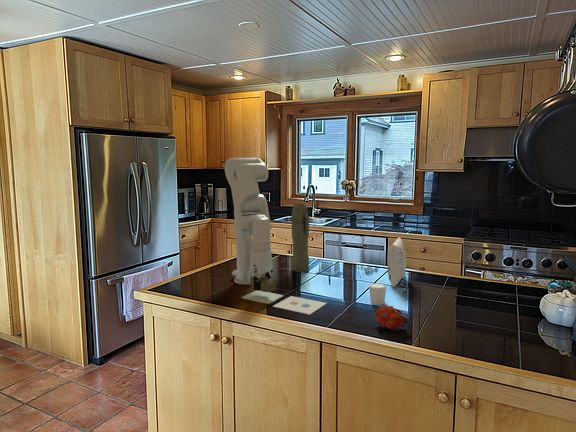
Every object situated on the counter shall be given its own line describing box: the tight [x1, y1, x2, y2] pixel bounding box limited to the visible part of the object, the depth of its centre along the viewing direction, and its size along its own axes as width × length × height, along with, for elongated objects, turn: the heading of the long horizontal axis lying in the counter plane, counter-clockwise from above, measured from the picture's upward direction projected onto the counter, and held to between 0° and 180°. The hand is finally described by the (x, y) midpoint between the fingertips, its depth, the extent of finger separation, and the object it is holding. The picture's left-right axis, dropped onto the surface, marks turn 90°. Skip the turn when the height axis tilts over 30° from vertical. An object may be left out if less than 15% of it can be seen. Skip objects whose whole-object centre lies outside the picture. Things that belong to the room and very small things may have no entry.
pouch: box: [386, 236, 407, 289], centre depth 194 cm, size 8×19×20 cm, turn 152°
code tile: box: [272, 295, 327, 316], centre depth 167 cm, size 17×14×1 cm
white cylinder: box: [368, 282, 387, 305], centre depth 168 cm, size 7×7×7 cm
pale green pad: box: [241, 290, 284, 305], centre depth 177 cm, size 14×11×1 cm
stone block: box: [249, 275, 276, 293], centre depth 176 cm, size 6×12×5 cm, turn 41°
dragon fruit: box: [374, 304, 409, 332], centre depth 143 cm, size 8×8×12 cm
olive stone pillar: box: [290, 202, 310, 273], centre depth 216 cm, size 9×12×35 cm
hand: (262, 287), depth 176 cm, fingers closed on stone block, 7 cm apart
